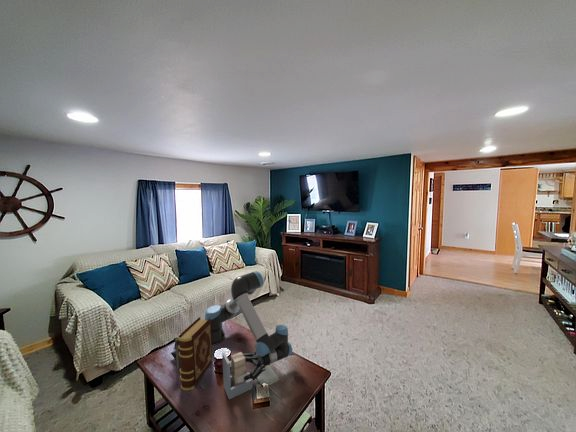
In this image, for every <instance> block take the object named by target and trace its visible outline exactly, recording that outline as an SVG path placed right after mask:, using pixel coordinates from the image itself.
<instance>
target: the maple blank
mask: <svg viewBox="0 0 576 432" xmlns="http://www.w3.org/2000/svg"><path fill="white" fill-rule="evenodd" d="M243 354H244V353H243V352H242V351H239V352H238V353H234V354H231V355H230V361H231V367H230V372H231V375H232V385H231V388H232V387H234V386H236V385H238V384H241V383H243V382H245V380H244V381H242V382H240V383H237V377H240V376H242V375H244V374H246V370H247V369H246V362H245V357H244V355H243Z"/></svg>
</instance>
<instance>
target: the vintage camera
mask: <svg viewBox="0 0 576 432" xmlns="http://www.w3.org/2000/svg"><path fill="white" fill-rule="evenodd" d="M173 342H174V346H173V347H174V349H175V351H172V352H170V355H171V356H172V357H173V359H174V360H175V361H176V367H177V369H178V370H180V368H181V367H180V356H179V352H180V350H179V348H178V346H179V340H178V336H177V337H174V338H173Z"/></svg>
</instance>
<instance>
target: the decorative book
mask: <svg viewBox="0 0 576 432" xmlns="http://www.w3.org/2000/svg"><path fill="white" fill-rule="evenodd" d="M177 338H178V340H179V346H178V348H179V350H180V352H179V356H180V367H181V368H180V369H179V372H180V376H179V379H180V382H181V384H180V388H181V390H183V391H187V392H188V391H192V390H194V389H195V387H196V386H197V385H198V383H199V381H200V380H201V379H202V377H204V375H205V374H206V372H207V370H208V369H209V368H210V366H212V363H213V348H212V347H213V345H212V340H211V321H210V318H209V319H208V320H205V319H201V316H199V317H198V318H197V319H195V320H194V321H193V322H192V323H191V324H190V325H189V326H188V327H187V328H185V330H183V332H181V333H180V334H179V335H177Z"/></svg>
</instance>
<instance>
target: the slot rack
mask: <svg viewBox="0 0 576 432" xmlns="http://www.w3.org/2000/svg"><path fill="white" fill-rule="evenodd" d="M221 354H222V357H221V358H222V376H223V377H222V378H223V380H222V381H223V389H224V391H225V394H226V396H227V398H228V400H231V399H233V398H236V397H238V396H240V395H242V394H244V393H246V392H249V391H250V390H253V380H252V379H248V380H246V381H245V382H243V383H241V384H238V385H236V386H234V387H232V374H231V367H230V360H229V359H228V357H227V355H226V353H225V352H222V353H221ZM246 373H248V372H247V369H246Z"/></svg>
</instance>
